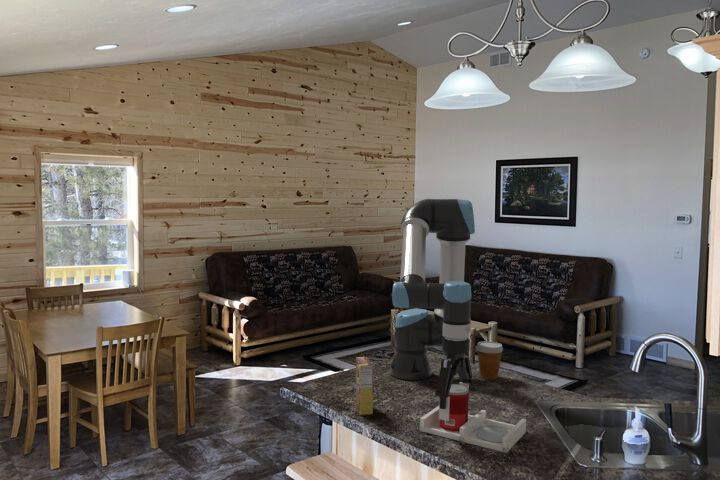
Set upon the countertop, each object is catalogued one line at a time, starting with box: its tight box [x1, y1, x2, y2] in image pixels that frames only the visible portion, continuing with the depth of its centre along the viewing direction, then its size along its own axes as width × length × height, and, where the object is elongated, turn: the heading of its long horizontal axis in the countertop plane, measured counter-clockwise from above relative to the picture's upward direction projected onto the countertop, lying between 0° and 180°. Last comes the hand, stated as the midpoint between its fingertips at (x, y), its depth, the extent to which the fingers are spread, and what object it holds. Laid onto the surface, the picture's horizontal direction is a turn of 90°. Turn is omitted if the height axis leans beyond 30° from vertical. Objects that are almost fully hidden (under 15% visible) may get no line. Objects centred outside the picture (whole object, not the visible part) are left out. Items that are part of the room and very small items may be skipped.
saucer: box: [476, 425, 509, 443], centre depth 165 cm, size 9×9×1 cm
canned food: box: [439, 383, 470, 431], centre depth 170 cm, size 8×8×11 cm
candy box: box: [355, 356, 374, 416], centre depth 185 cm, size 9×4×15 cm, turn 8°
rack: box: [419, 405, 527, 453], centre depth 168 cm, size 16×25×4 cm, turn 57°
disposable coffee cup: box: [475, 340, 504, 380], centre depth 219 cm, size 10×10×12 cm
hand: (453, 412), depth 170 cm, fingers open, 13 cm apart
